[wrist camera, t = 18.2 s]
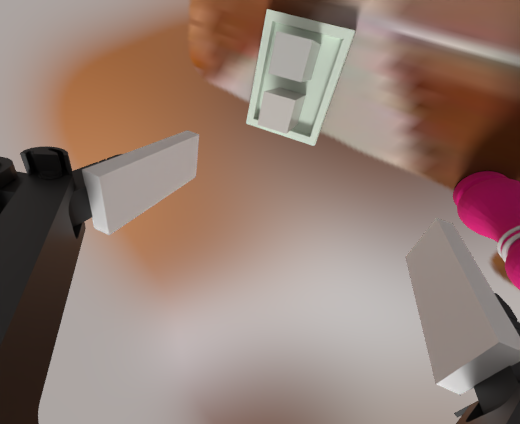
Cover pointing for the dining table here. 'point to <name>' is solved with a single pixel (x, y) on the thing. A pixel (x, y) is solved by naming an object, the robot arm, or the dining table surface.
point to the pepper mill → (493, 214)
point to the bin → (316, 89)
